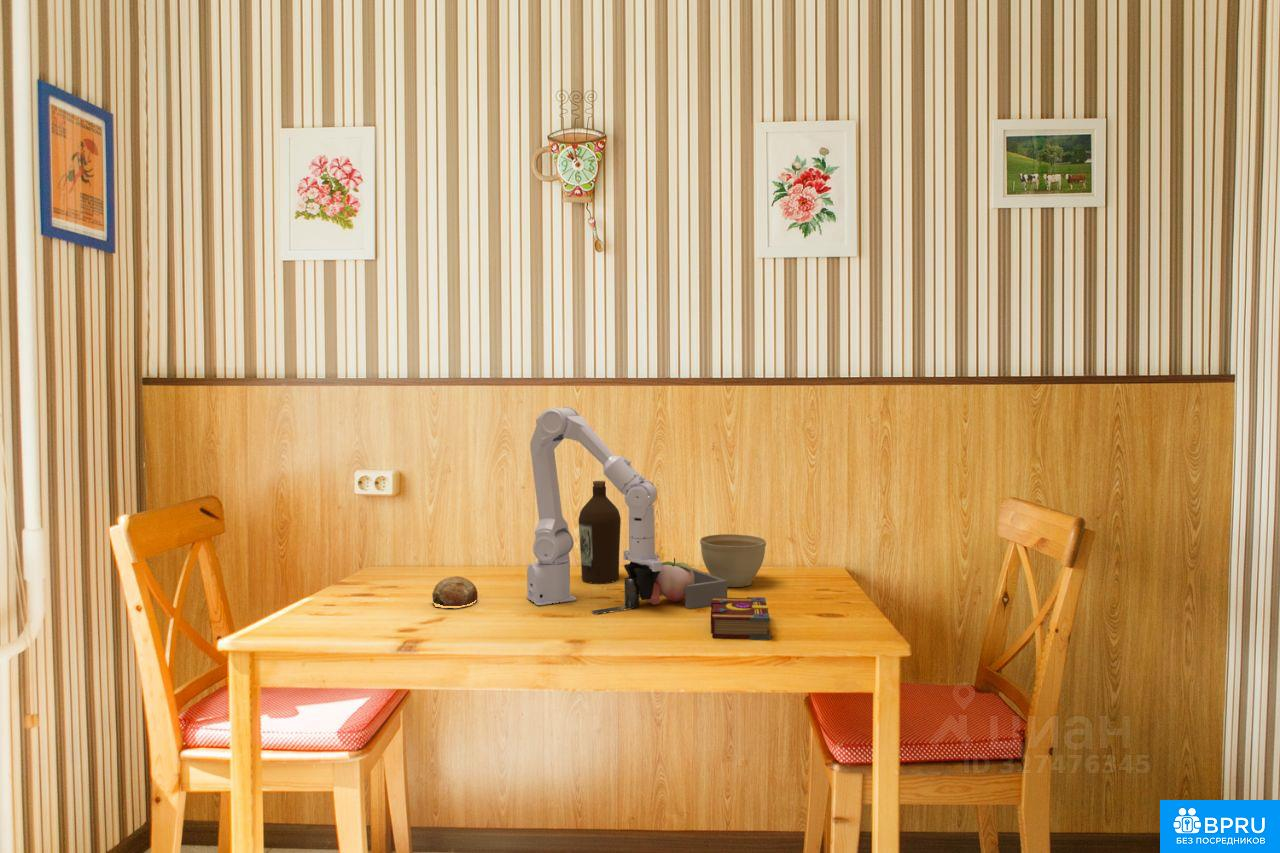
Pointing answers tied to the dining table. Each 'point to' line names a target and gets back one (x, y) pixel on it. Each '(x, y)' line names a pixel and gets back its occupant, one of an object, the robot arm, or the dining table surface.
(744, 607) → the decorative book
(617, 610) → the rail strip
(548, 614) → the dining table surface
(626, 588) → the kicker rod
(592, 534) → the olive oil
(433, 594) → the bread roll
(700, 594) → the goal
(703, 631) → the dining table surface
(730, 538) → the planter bowl
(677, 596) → the decorative fruit
